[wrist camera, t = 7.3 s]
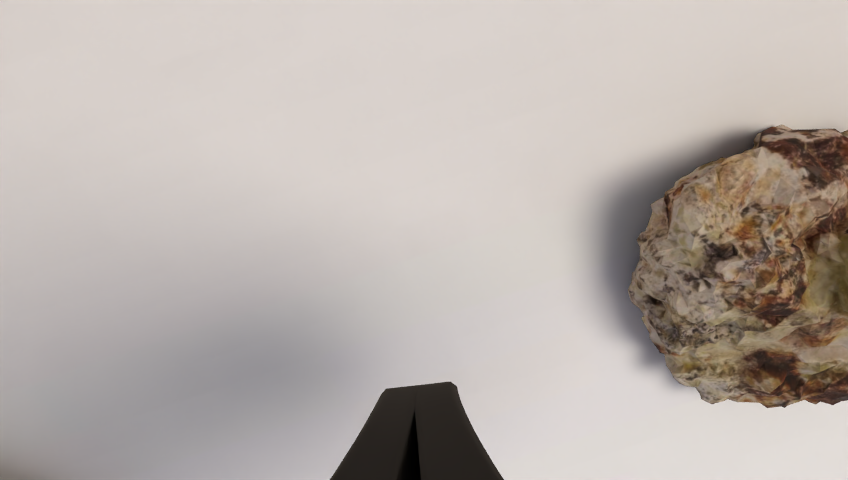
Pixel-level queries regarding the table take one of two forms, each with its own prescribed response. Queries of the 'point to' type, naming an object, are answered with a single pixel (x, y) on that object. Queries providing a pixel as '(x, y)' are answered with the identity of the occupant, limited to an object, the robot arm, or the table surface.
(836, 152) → the mineral rock
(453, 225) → the table surface
